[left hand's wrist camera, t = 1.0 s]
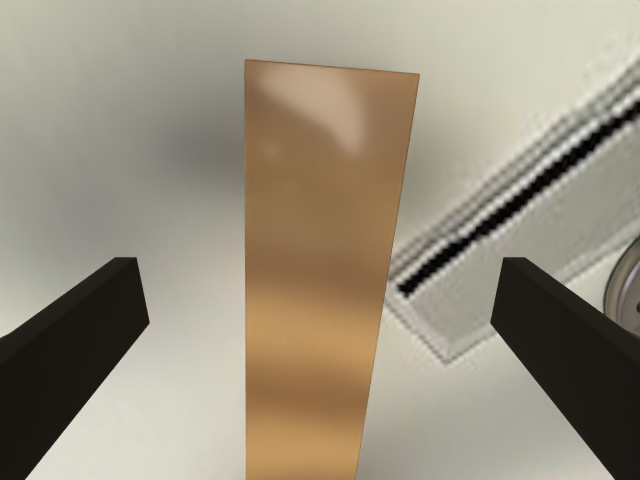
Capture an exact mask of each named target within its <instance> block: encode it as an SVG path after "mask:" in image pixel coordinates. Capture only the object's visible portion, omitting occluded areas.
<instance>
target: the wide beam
mask: <svg viewBox="0 0 640 480" xmlns="http://www.w3.org/2000/svg"><path fill="white" fill-rule="evenodd" d="M419 78H420V74H416V73H404V72H392V71H380V70H368V69H357V68H345V67H333V66H321V65H309V64H297V63H285V62H273V61H261V60H249V59H246V60H245V342H246V480H355V477H356V471H357V465H358V458H359V452H360V446H361V440H362V433H363V427H364V421H365V415H366V408H367V402H368V396H369V390H370V383H371V377H372V371H373V365H374V358H375V352H376V346H377V340H378V334H379V327H380V321H381V315H382V309H383V302H384V296H385V290H386V284H387V277H388V271H389V265H390V259H391V252H392V246H393V240H394V234H395V227H396V221H397V215H398V209H399V202H400V196H401V190H402V184H403V177H404V171H405V165H406V159H407V152H408V146H409V140H410V134H411V127H412V121H413V115H414V109H415V102H416V96H417V90H418V84H419Z"/></svg>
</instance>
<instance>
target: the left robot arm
mask: <svg viewBox="0 0 640 480" xmlns="http://www.w3.org/2000/svg"><path fill="white" fill-rule="evenodd" d="M149 323H150V322H149V317H148V312H147V307H146V302H145V297H144V292H143V287H142V282H141V277H140V272H139V267H138V262H137V257H115V258H114V259H112V260H111V261H109V262H108V263H107V264H105V265H104V266H102V267H101V268H100V269H98V270H97V271H96V272H94V273H93V274H91V275H90V276H89V277H87V278H86V279H84V280H83V281H82V282H80V283H79V284H78V285H76V286H75V287H73V288H72V289H71V290H69V291H68V292H66V293H65V294H64V295H62V296H61V297H60V298H58V299H57V300H55V301H54V302H53V303H51V304H50V305H48V306H47V307H46V308H44V309H43V310H42V311H40V312H39V313H37V314H36V315H35V316H33V317H32V318H30V319H29V320H28V321H26V322H25V323H23V324H22V325H21V326H19V327H18V328H17V329H15V330H14V331H12V332H11V333H9V334H7V335H5V336H3V337H1V338H0V480H25V479H26V478H27V477H28V475H29V474H30V473H31V472H32V470H33V469H34V468H35V467H36V465H37V464H38V463H39V462H40V460H41V459H42V458H43V456H44V455H45V454H46V453H47V451H48V450H49V449H50V448H51V446H52V445H53V444H54V443H55V441H56V440H57V439H58V438H59V436H60V435H61V434H62V433H63V431H64V430H65V429H66V428H67V426H68V425H69V424H70V423H71V421H72V420H73V419H74V418H75V416H76V415H77V414H78V413H79V411H80V410H81V409H82V408H83V406H84V405H85V404H86V403H87V401H88V400H89V399H90V397H91V396H92V395H93V394H94V392H95V391H96V390H97V389H98V387H99V386H100V385H101V384H102V382H103V381H104V380H105V379H106V377H107V376H108V375H109V374H110V372H111V371H112V370H113V369H114V367H115V366H116V365H117V364H118V362H119V361H120V360H121V359H122V357H123V356H124V355H125V354H126V352H127V351H128V350H129V349H130V347H131V346H132V345H133V344H134V342H135V341H136V340H137V338H138V337H139V336H140V335H141V333H142V332H143V331H144V330H145V328H146V327H147V326H148V325H149ZM490 323H491V325H492V326H493V327H494V328H495V330H496V331H497V332H498V333H499V335H500V336H501V337H502V338H503V340H504V341H505V342H506V344H507V345H508V346H509V347H510V349H511V350H512V351H513V352H514V354H515V355H516V356H517V357H518V359H519V360H520V361H521V362H522V364H523V365H524V366H525V367H526V369H527V370H528V371H529V372H530V374H531V375H532V376H533V377H534V379H535V380H536V381H537V382H538V384H539V385H540V386H541V387H542V389H543V390H544V391H545V392H546V394H547V395H548V396H549V397H550V399H551V400H552V401H553V403H554V404H555V405H556V406H557V408H558V409H559V410H560V411H561V413H562V414H563V415H564V416H565V418H566V419H567V420H568V421H569V423H570V424H571V425H572V426H573V428H574V429H575V430H576V431H577V433H578V434H579V435H580V436H581V438H582V439H583V440H584V441H585V443H586V444H587V445H588V446H589V448H590V449H591V450H592V451H593V453H594V454H595V455H596V456H597V458H598V459H599V460H600V462H601V463H602V464H603V465H604V467H605V468H606V469H607V470H608V472H609V473H610V474H611V475H612V477H613V478H614V479H615V480H640V336H638V335H636V334H634V333H632V332H630V331H628V330H625V329H623V328H622V327H621V326H619V325H618V324H617V323H615V322H614V321H612V320H611V319H610V318H608V317H607V316H605V315H604V314H603V313H601V312H600V311H599V310H597V309H596V308H594V307H593V306H592V305H590V304H589V303H587V302H586V301H585V300H583V299H582V298H580V297H579V296H578V295H576V294H575V293H574V292H572V291H571V290H569V289H568V288H567V287H565V286H564V285H562V284H561V283H560V282H558V281H557V280H556V279H554V278H553V277H551V276H550V275H549V274H547V273H546V272H544V271H543V270H542V269H540V268H539V267H538V266H536V265H535V264H533V263H532V262H531V261H529V260H528V259H526V258H525V257H503V262H502V267H501V272H500V277H499V282H498V287H497V292H496V297H495V302H494V307H493V312H492V317H491V322H490Z"/></svg>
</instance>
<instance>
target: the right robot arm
mask: <svg viewBox="0 0 640 480" xmlns="http://www.w3.org/2000/svg"><path fill="white" fill-rule="evenodd" d="M605 314H606V316H607V317H608V318H610V319H611V320H612V321H614V322H615V323H617V324H618V325H619V326H621V327H622V328H623V329H625V330H628V331H630V332H632V333H634V334H636V335H638V336H640V239H639V240H638V241H637V242H636V243H635V244H634V245H633V246H632V247H631V248H630V249H629V251H628V252H627V253H626V255H625V256H624V257H623V259H622V260H621V262H620V263H619V265H618V266H617V268H616V270H615V272H614V274H613V276H612V278H611V281H610V283H609V287H608V290H607V295H606V301H605Z"/></svg>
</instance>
